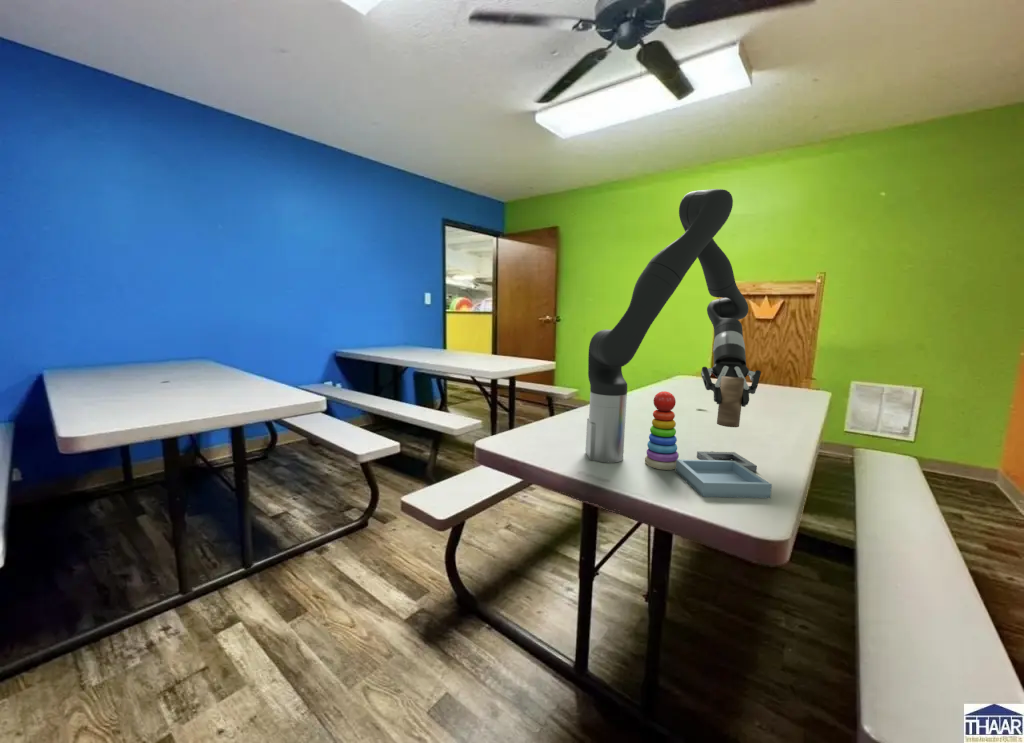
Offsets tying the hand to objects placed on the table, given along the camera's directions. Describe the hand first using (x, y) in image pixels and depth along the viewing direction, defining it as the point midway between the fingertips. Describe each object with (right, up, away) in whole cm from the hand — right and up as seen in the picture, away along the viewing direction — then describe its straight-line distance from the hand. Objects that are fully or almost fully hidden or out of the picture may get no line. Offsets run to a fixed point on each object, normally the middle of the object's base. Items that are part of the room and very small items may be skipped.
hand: (731, 403), depth 100 cm
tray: (-8, -17, -9) cm, 21 cm away
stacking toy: (-17, -16, +2) cm, 23 cm away
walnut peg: (0, -6, +2) cm, 6 cm away
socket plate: (0, -16, +4) cm, 16 cm away
